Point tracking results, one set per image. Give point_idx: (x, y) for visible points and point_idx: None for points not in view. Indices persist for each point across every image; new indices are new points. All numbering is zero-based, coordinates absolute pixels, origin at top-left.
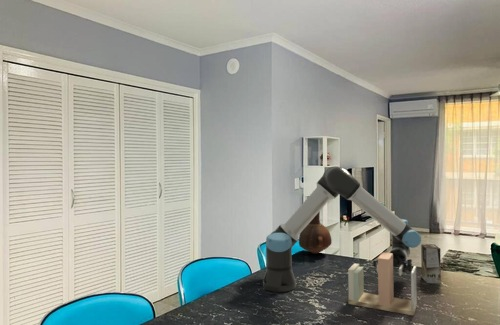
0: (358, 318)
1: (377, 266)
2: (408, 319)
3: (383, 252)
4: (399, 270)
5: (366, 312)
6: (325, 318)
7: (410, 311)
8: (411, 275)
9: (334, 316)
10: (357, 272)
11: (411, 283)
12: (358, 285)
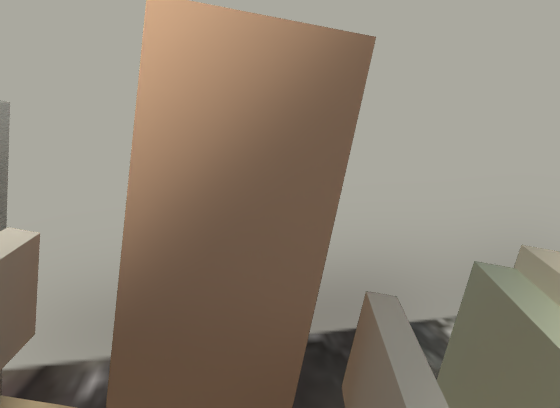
0: (322, 345)
1: (380, 300)
2: (57, 372)
3: (352, 33)
4: (29, 258)
5: (307, 403)
6: (439, 330)
7: (13, 401)
8: (5, 126)
9: (422, 346)
10: (495, 274)
11: (4, 197)
12: (445, 370)
